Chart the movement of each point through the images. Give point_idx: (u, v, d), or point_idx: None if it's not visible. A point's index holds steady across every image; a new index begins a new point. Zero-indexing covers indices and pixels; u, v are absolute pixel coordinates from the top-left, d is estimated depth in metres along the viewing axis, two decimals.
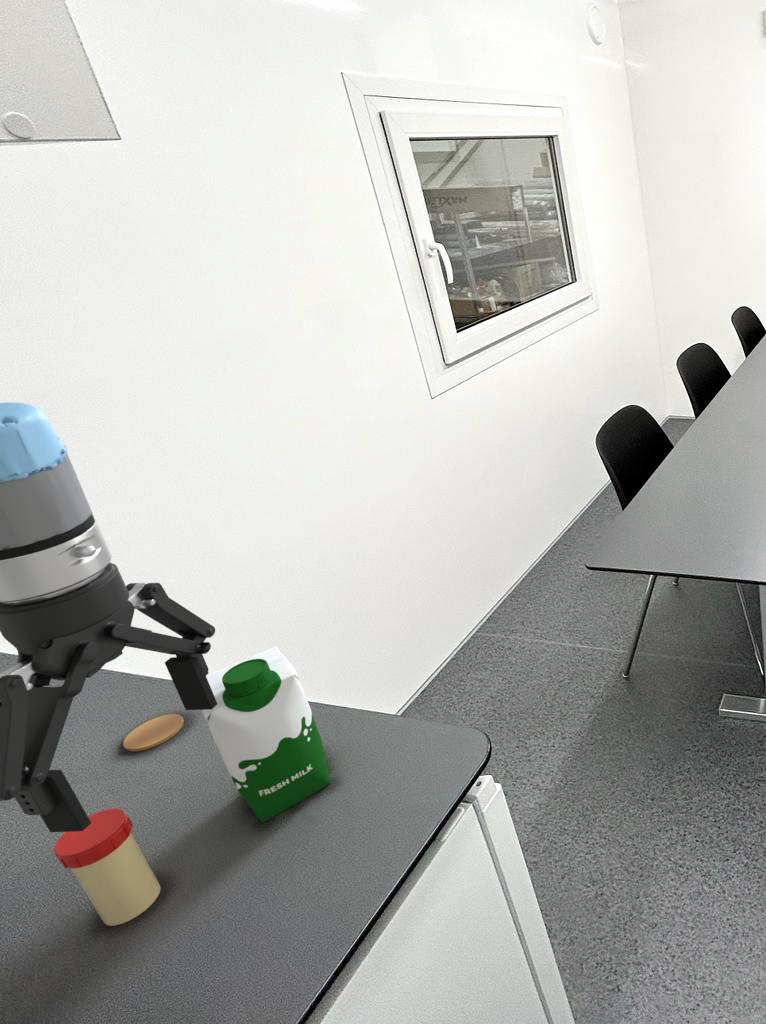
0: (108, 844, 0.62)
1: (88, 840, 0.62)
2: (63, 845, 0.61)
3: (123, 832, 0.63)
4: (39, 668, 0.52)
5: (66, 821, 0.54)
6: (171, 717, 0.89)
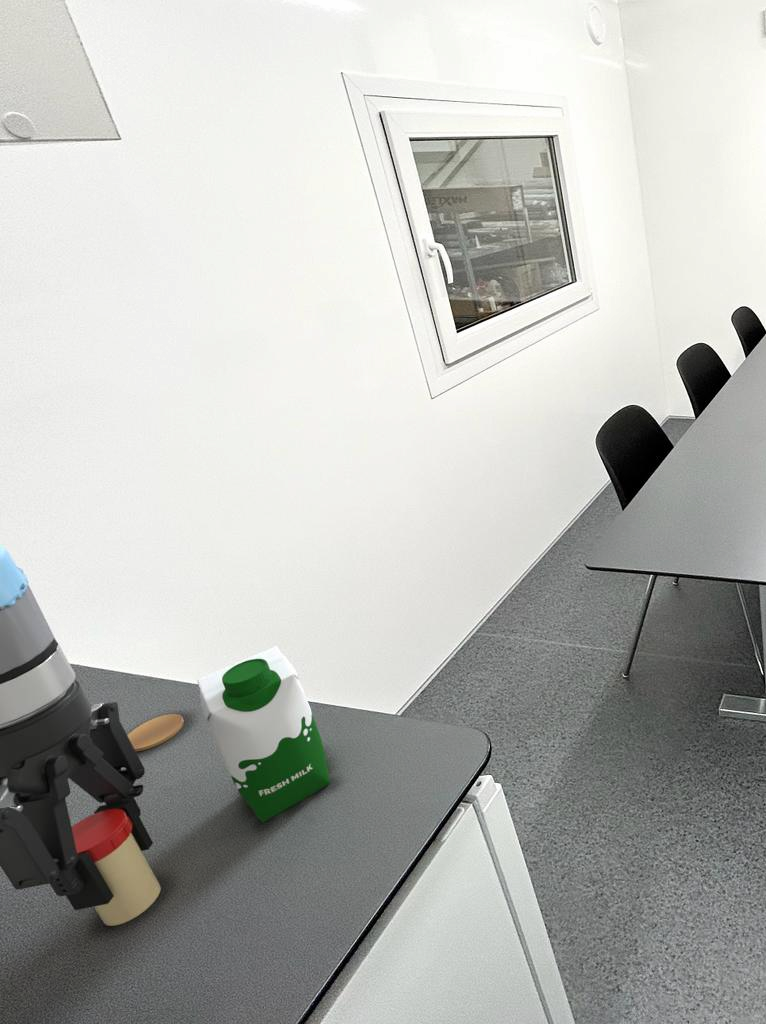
0: (108, 844, 0.62)
1: (88, 840, 0.62)
2: None
3: (123, 832, 0.63)
4: None
5: None
6: (171, 717, 0.89)
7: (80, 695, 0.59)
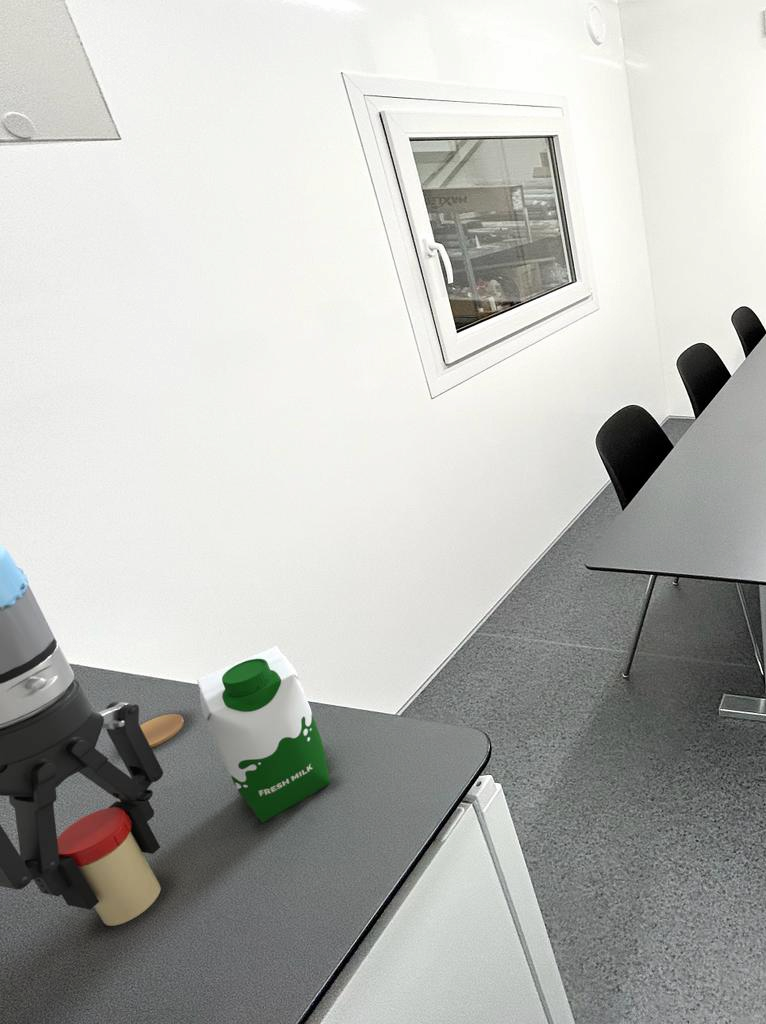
0: None
1: (98, 818, 0.64)
2: (115, 821, 0.63)
3: None
4: None
5: (77, 900, 0.61)
6: (171, 717, 0.89)
7: None
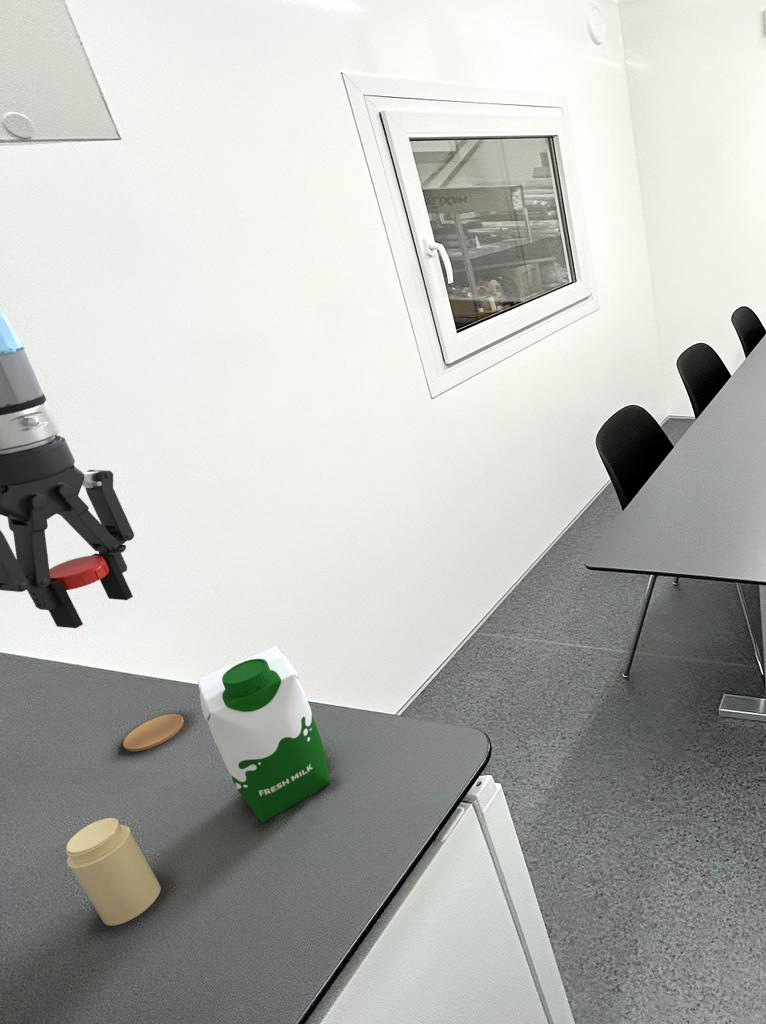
0: None
1: (81, 560, 0.78)
2: (95, 562, 0.78)
3: None
4: (0, 509, 0.70)
5: (65, 619, 0.76)
6: (171, 717, 0.89)
7: None
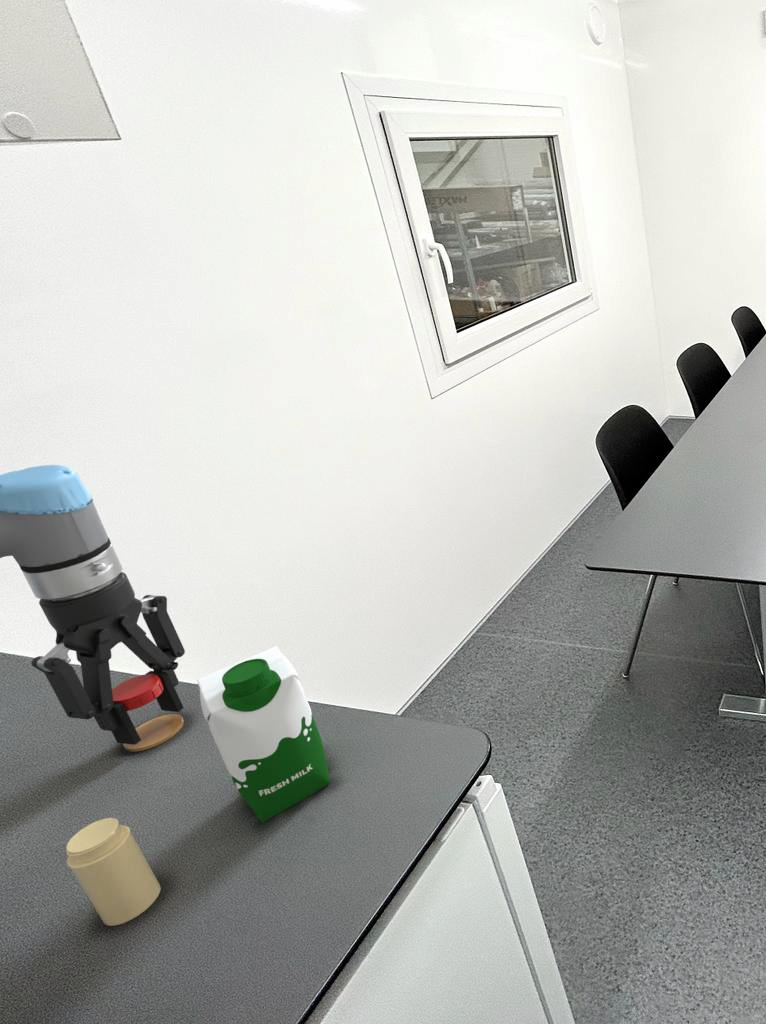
0: None
1: (139, 680, 0.85)
2: (152, 681, 0.85)
3: None
4: (71, 647, 0.76)
5: (125, 737, 0.83)
6: (171, 717, 0.89)
7: None
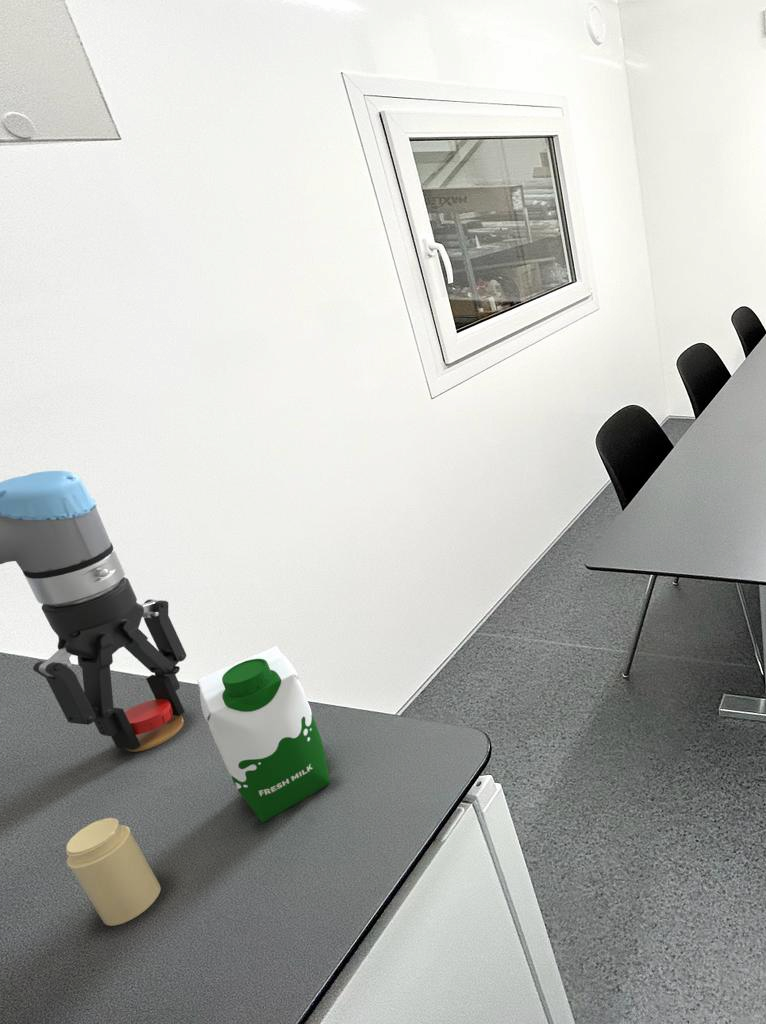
0: None
1: (150, 705, 0.87)
2: (163, 706, 0.86)
3: None
4: (73, 652, 0.77)
5: (125, 742, 0.83)
6: (171, 717, 0.89)
7: None
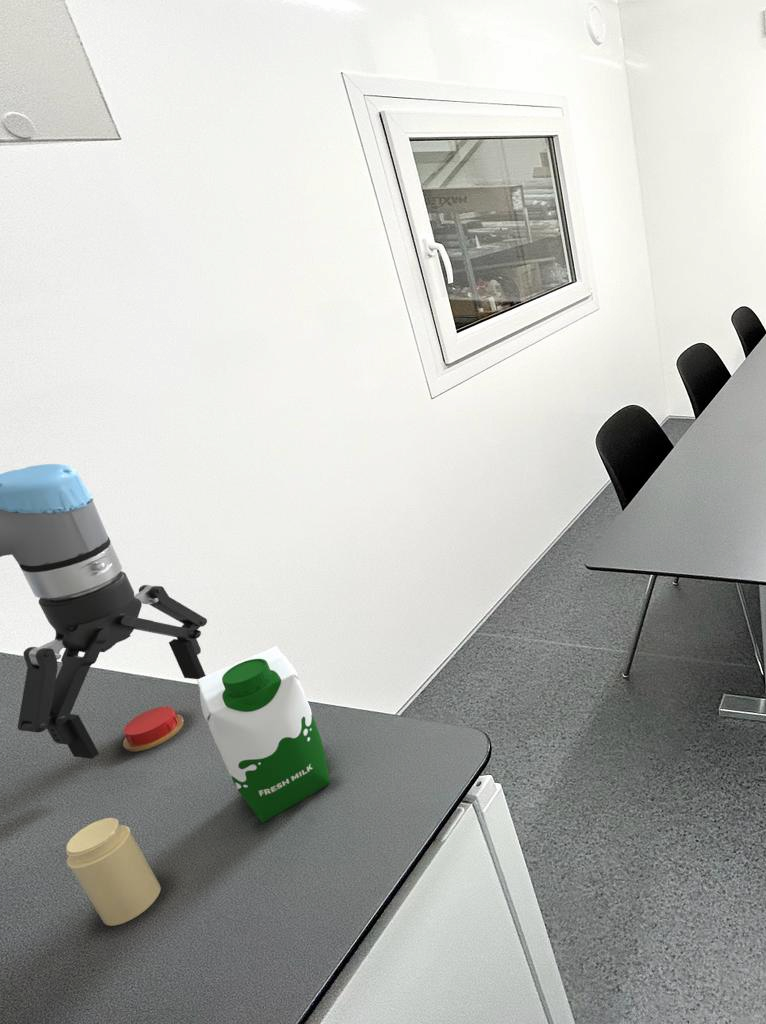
0: None
1: (154, 713, 0.87)
2: (166, 714, 0.87)
3: None
4: (67, 644, 0.76)
5: (82, 750, 0.78)
6: None
7: None
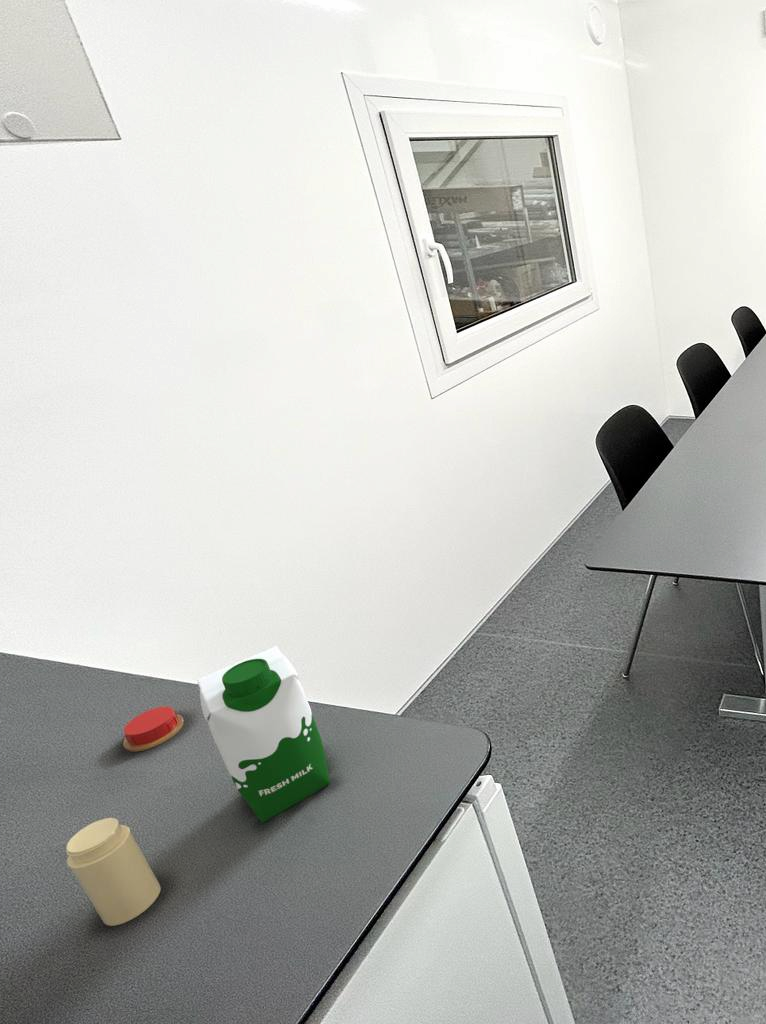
0: None
1: (154, 713, 0.87)
2: (166, 714, 0.87)
3: None
4: None
5: None
6: None
7: None
